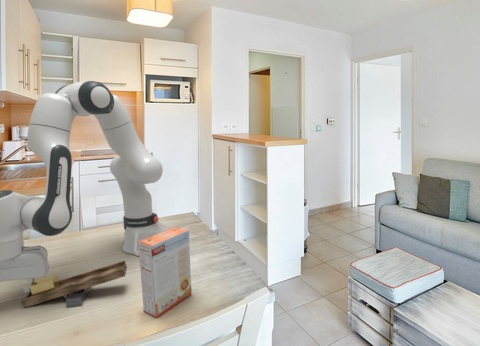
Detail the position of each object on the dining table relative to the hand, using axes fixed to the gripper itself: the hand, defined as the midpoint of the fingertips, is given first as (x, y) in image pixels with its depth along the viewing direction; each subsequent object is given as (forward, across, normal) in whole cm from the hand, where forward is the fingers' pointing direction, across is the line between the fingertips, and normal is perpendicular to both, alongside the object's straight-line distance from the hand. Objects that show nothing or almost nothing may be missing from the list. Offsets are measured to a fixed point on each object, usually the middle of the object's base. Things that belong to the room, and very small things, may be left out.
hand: (11, 293), depth 88 cm
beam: (0, -18, 0) cm, 18 cm away
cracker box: (+3, -44, +11) cm, 45 cm away
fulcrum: (+3, -18, 0) cm, 18 cm away
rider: (+1, -9, 0) cm, 9 cm away
